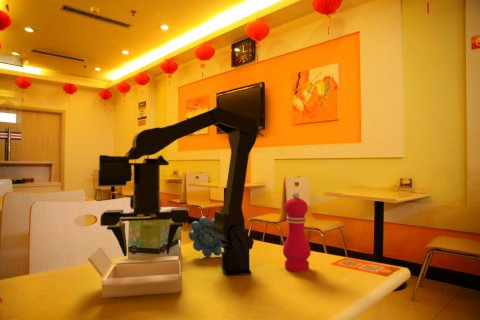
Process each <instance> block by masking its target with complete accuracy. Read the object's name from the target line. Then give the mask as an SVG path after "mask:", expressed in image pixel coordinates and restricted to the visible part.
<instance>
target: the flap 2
mask: <svg viewBox="0 0 480 320" xmlns="http://www.w3.org/2000/svg"><path fill="white" fill-rule="evenodd" d="M178 258H179V261H180V269H181V271H182V272H183V271H184V270H183V256H182V241H181V242H180V240H179V255H178Z"/></svg>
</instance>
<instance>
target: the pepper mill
mask: <svg viewBox="0 0 480 320" xmlns="http://www.w3.org/2000/svg"><path fill="white" fill-rule="evenodd" d="M308 207H309V206H308V203H307V202H306V201H305V199H302V198H300V193H299V192H297V191H295V192H294V193H292V198H290V199H288V200H287V201H286V202H285V205H284V211H285V213H286V215H287V216H286V218H287V219H286V222H287V223H288V233H287V236H286V237H287V238H286V239H285V240H284V243H283V247H282V254H283V256H284V257H285V258H286V260H284V268H285V269H286V270H287V271H289V272H298V273H299V272H300V273H302V272H307V271H308V270H309V269H310V262H309V260H308V259H309V258H310V256H311V254H312V253H311V252H312V251H311V247H310V244H309V242H308V239H307V237H306V233H305V223H307V221H306V219H307V217H306V216H305V215H306V214H308V211H309V208H308Z"/></svg>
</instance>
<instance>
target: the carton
mask: <svg viewBox="0 0 480 320" xmlns="http://www.w3.org/2000/svg"><path fill="white" fill-rule="evenodd" d="M157 262H159V263H157ZM140 263H142V264H140ZM182 272H183V271H181V269H180V260H179V255H177V256H165V257H147V258H130V259H128V258H119V259H118V260H117V261H116V263H115V265H114V264H113V265H111V266H110V269H108V271H107V272H106V274H105V276H104V277H103V279H102V281H101V298H102V299H109V298H122V297H124V298H125V297H134V296H150V295H151V296H152V295H163V294H173V293H174V294H175V293H177V294H178V293H182V292H183V291H182V290H183V288H182V287H183V278H182V277H183V273H182Z"/></svg>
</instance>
